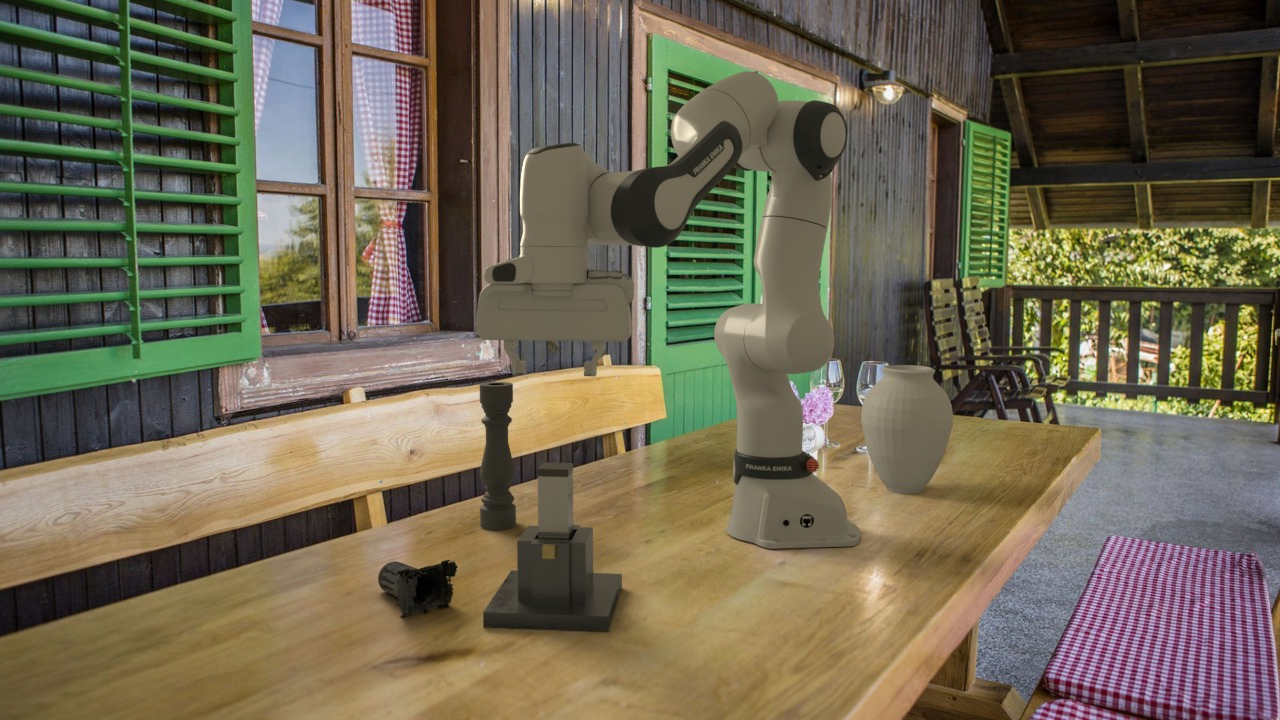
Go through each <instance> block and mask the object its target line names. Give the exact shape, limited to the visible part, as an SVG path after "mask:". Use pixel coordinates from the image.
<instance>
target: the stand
mask: <svg viewBox="0 0 1280 720" xmlns="http://www.w3.org/2000/svg"><path fill="white" fill-rule="evenodd" d="M537 532H538V525H527V527H526V528H525V530H524V531H523V533H522V534H521V535H520V536H519V538H518V539H517V541H516V543H517V544H516V548H517V550H516V554H517V557H516V558H517V561H516V562H517V570H513V569H512V570H510V572H509V573H508V575H507V576H506V578H505V579H504V581H503V582H502V583H501V585H500V586H499V588H498V589H497V591H496V592H495V594H494V595H493V596H492V598H491V600H490V601H489V602H488V604H487V606H486V607H485V608H484V610H483V612H482V615H483V616H482V620H483V621H482V622H483V623H482V625H483V626H482V627H483V628H492V629H493V628H497V629H498V628H499V629H518V630H519V629H524V630H525V629H526V630H546V631H547V630H550V631H573V632H574V631H576V632H577V631H578V632H581V631H582V632H598V633H599V632H601V633H602V632H603V633H604V632H605V633H608V632H609V631H610V627H611V623H612V621H613V618H614V614H615V611H616V607H617V605H618V601H619V598H620V594H621V592H622V588H623V574H622V573H609V572H608V573H605V572H604V573H603V572H602V573H601V572H599V573H598V572H594V527H587V526H586V527H585V526H584V527H583V526H581V524H574V529H573V538H572V540H547V539H538V536H537Z"/></svg>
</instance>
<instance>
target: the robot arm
mask: <svg viewBox="0 0 1280 720" xmlns="http://www.w3.org/2000/svg"><path fill="white" fill-rule="evenodd" d="M670 127H671V128H670V138H671V143H672V146H673V148H674V151H675V153H676V154H677V157H676V158H675V159H674V160H673V161H672V162H670V163H669V164H667V165H665V166H652V167H647V168H642V169H639V170H630V171H629V170H628V171H618V172H610V170H607V169H606V168H604V167H602V166H600V165H599V164H598V163H597V162H595V161H594V160H593V159H592V158H590V156H589V155H588V154H586V152H585V150H584V147H583V145H581V144H580V143H576V142H564V143H558V144H550V145H544V146H543V145H542V146H537V147H536V146H535V147H534V148H532V149H530V150H529V151H528V152H527V153H526V154H525V157H524V159H523V162H522V167H521V173H520V174H521V175H520V183H519V184H520V185H519V214H520V218H521V222H522V235H521V239H520V243H519V246H520V247H519V249H520V250H519V256H518V257H515V258H508V259H506V260H505V261H501V262H498V263H496V264H492V265H489V266H487V267H485V268H484V271H483V275H484V276H483V277H484V281H485V282H486V283H487V285H485V286H484V287H483V289H482V290H481V291H480V293H479V296H478V302H477V309H476V311H477V312H476V327H475V328H476V329H475V330H476V334H477V335H478V336H479V338H480V339H481V340H483V341H503V350H504V351H505V353H506V355H507V357H508V358H509V361H510V362H511V363H512V367H511V368H512V375H513V376H525V375H526V374H527V368H526V367H527V360H521V359H520V357H519V355H518V353H517V352H516V350H515V349H516V348H518V345H519V342H518V341H525V342H526V341H527V342H528V341H534V342H535V341H536V342H537V341H539V342H540V341H541V342H546V341H547V342H592V347H591V348H592V350H593V351H596V352H595V353H594V355H593V357H592V358H591V360H590V361H585V362H584V363H583V369H584V371H583V376H584V377H593V378H594V377H597V375H598V374H597V373H598V370H597V369H598V367H597V363H599V360H600V358H601V356H602V355H603V353H604V351H606V343H624V342H627V340H629V339H630V337H632V333H633V323H632V312H631V307H630V304H631V303H632V302H633V299H634V296H635V283H634V280H633V279H632V277H631V276H630V275H628V274H626V273H623V270H615V269H613V270H602V269H589V244H591V245H594V246H595V245H596V246H637V247H646V248H653V249H654V248H663V247H666V246H669V245H670V244H671V243H673V242H674V241H675V240H676V239H677V238H678V237H679V236H680V235H681V233H682V231H683V230H684V228H685V227H686V225H687V223H688V221H689V219H690V217H691V215H692V213H693V212H694V211H695V209H696V208H697V206H698V205H699V204H700V203H701V202H702V200H703V199H704V198H706V196H707V195H708V194H709V193H711V191H712V190H713V189H714V188H715V187H716V186H717V185H718V184H719V183H720V182H721V181H722V180H723V179H724V178H725V177H726V176H727V175H728V174H729V173H731V170H733V168H735V169H737V170H739V171H745V172H750V171H756V172H757V171H758V172H765V173H770V177H771V185H770V187H769V191H768V193H767V197H766V200H765V203H764V208H763V213H762V216H761V220H760V225H759V231H758V235H757V240H756V246H755V251H754V255H753V267H754V269H755V271H756V273H757V274H758V275H759V277H760V281H761V282H760V283H761V289H762V290H761V291H762V302H761V303H756V302H755V303H751V302H750V303H749V302H748V303H744V304H741V305H737V306H734V307H731V308H729V309H726V310H725V311H724V312H722V313H721V314H720V316H719V318H717V320H716V324H715V327H714V332H713V336H714V342H715V345H716V348H717V350H718V351H719V352H720V353H721V355H722V356H723V358H724V361H725V362H726V366H727V369H728V372H729V376H730V380H731V384H732V388H733V393H734V398H735V405H736V449H735V450H734V453H733V457H732V458H733V461H732V466H733V467H732V474H733V475H732V478H733V482H734V492H733V499H732V504H731V510H730V514H729V519H728V522H727V526H726V528H725V531H726V533H727V535H730V536H731V537H732V538H734V539H738V540H740V541H745V542H747V543H753V544H754V545H755V544H756V545H757V546H760V547H762V548H764V549H769V550H770V549H774V550H775V549H776V550H777V549H801V548H803V549H804V548H808V549H809V548H832V547H833V548H834V547H835V548H837V547H854V546H856V545H858V544H859V543H860V542H861V532H860V529H859V527H858V526H857V525H856V524H855V523H854V522H852V521H851V520H848V513H847V509H846V505H845V502H844V500H843V498H842V497H841V496H840V494H839V493H837V491H835V490H834V489H833V488H831V487H830V486H829V485H828V484H826V483H825V482H824V481H823V480H822V479H820V478H819V477H818V476H817V475H815V474H814V473H816V472H817V471H818V470H819V469H820V463H819V461H818V460H817V459H816V458H814V456H812V455H811V454H810V453H809V452H805V451H804V450H803V438H804V437H803V435H804V433H803V432H804V409H803V404H802V403H801V401H800V399H799V398H798V397H797V395H796V393H795V392H794V389H793V388H792V385H791V382H790V379H789V375H798V374H807V373H811V372H812V373H813V372H816V371H818V370H821V368H823V367H824V366H825V365H826V364H828V362H829V360H830V359H831V357H832V354H833V351H834V349H835V333H834V330H833V327H832V325H831V323H830V321H829V320H828V318H827V317H826V316H825V312H824V310H823V306H822V305H823V304H822V301H821V294H820V293H821V292H820V273H821V272H820V271H821V265H822V260H823V255H824V254H823V253H824V247H825V243H826V238H827V233H828V227H829V222H830V215H831V207H832V206H831V205H832V194H833V193H832V188H833V187H832V186H833V185H832V184H833V182H832V174H831V173H832V172H833V170H834V169H835V167H836V165H837V164H838V163H839V161H840V160H841V158H842V156H843V153H844V152H845V148H846V147H847V146H846V145H847V141H848V128H847V127H848V126H847V122H846V119H845V117H844V115H843V113H842V112H841V110H840V109H839V108H838V106H836V105H835V104H833V103H831V102H827V101H823V100H816V99H815V100H814V99H813V100H809V101H805V100H803V101H802V100H779V98H778V95H777V91H776V89H775V87H774V86H773V84H772V82H771V81H770V80H769V79H768V78H767V77H765V75H762V74H761V73H758V72H756V71H749V70H747V71H741V72H738V73H735V74H731V75H729V76H727V77H724V78H722V79H720V80H718V81H717V82H716V81H715V82H714V83H713V84H711V85H709V86H707V87H706V88H704V89H703V90H701V91H699V93H697V94H696V95H695V96H693V97H692V98H690V99H689V100H687V102H685V103H684V104H683V105H682V106H681V108H680V109H679V110H678V111H677V112H676V113H675V114H674V117H673V118H672V121H671V125H670ZM623 277H624V278H623Z"/></svg>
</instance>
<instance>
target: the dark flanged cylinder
mask: <svg viewBox="0 0 1280 720" xmlns="http://www.w3.org/2000/svg"><path fill="white" fill-rule="evenodd" d="M457 569H458V565H457V563H456V560H452V561H451V560H450V559H446V560H442V561H441V562H440V563H436V564H433V565H428V566H427V565H426V566H422V567H419V568H416V567H413V566H411V565H408V564H406V563H402V562H400V561H397V560H396V561H389V562H388V563H385V564H384V565H383V566H382V567H381V569H380V570H379V572H378V577H377V582H378V585H379V586H380V588H381V590H382V591H384V592H386V593H388V594H389V595H392V596H394V597H396V598H397V600H398V604H397V605H398V606H399V607H400V610H401V613H402V615H400V616H399V617H400V618H403V617H407V616H411V615H417V614H420V613H423V615H424V614H427V613H429V614H431V613H432V612H431V610H433V609H434V610H435V609H437V610H439V609H440V610H442V608H450V606H449V605H451V603H452V598H453V596H454V592H453V590H454V588H453V586H454V584H453V583H451V581H452V577H453V578H455V577H456V576H457V575H456V573H457V572H458V570H457Z"/></svg>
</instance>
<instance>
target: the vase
mask: <svg viewBox="0 0 1280 720" xmlns="http://www.w3.org/2000/svg"><path fill="white" fill-rule="evenodd" d="M880 370H881V371H882V375H883V376H882V378H881V379H880V380H878V381H877V382H876V383H875V384H874V385H873V386H871V388H869V390H868V391H867V394H866V396H865V397H864V399H863V402H862V407H861V414H860V415H861V417H860V418H861V419H860V421H861V426H862V431H863V437H864V441H865V446H866V450H867V453H868V456H869V459H870V460H871V463H872V465H873V467H874V470H875V472H876V474H877V476H878V477H879V480H880V481H881V482H882V484H883V485H884V486H885V489H886V491H888V492H891V493H895V494H901V495H902V494H903V495H915V494H917V495H918V494H921V493H922V492H923V490H924V488H926V487H927V485H928V484H929V483H930V482H931V480H932V479H933V477H934V475H935V474H936V472H937V470H938V469H939V467H940V464H941V462H942V461H943V458H944V457H945V453H946V450H947V447H948V445H949V444H948V443H949V440H950V436H951V433H952V428H953V427H954V425H953V424H954V423H953V422H954V412H953V407H952V403H951V400H950V397H949V395H948V393H947V392H946V391H945V390H944V388H942V387H941V386H940V384H939V383H938V382H936V380H935V379H934V375H935V372H936V371H937V370H936V369H934V368H933V367H930V366H926V365H925V366H924V365H915V364H913V365H909V364H893V365H892V364H891V365H885V366H883V367H880Z"/></svg>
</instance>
